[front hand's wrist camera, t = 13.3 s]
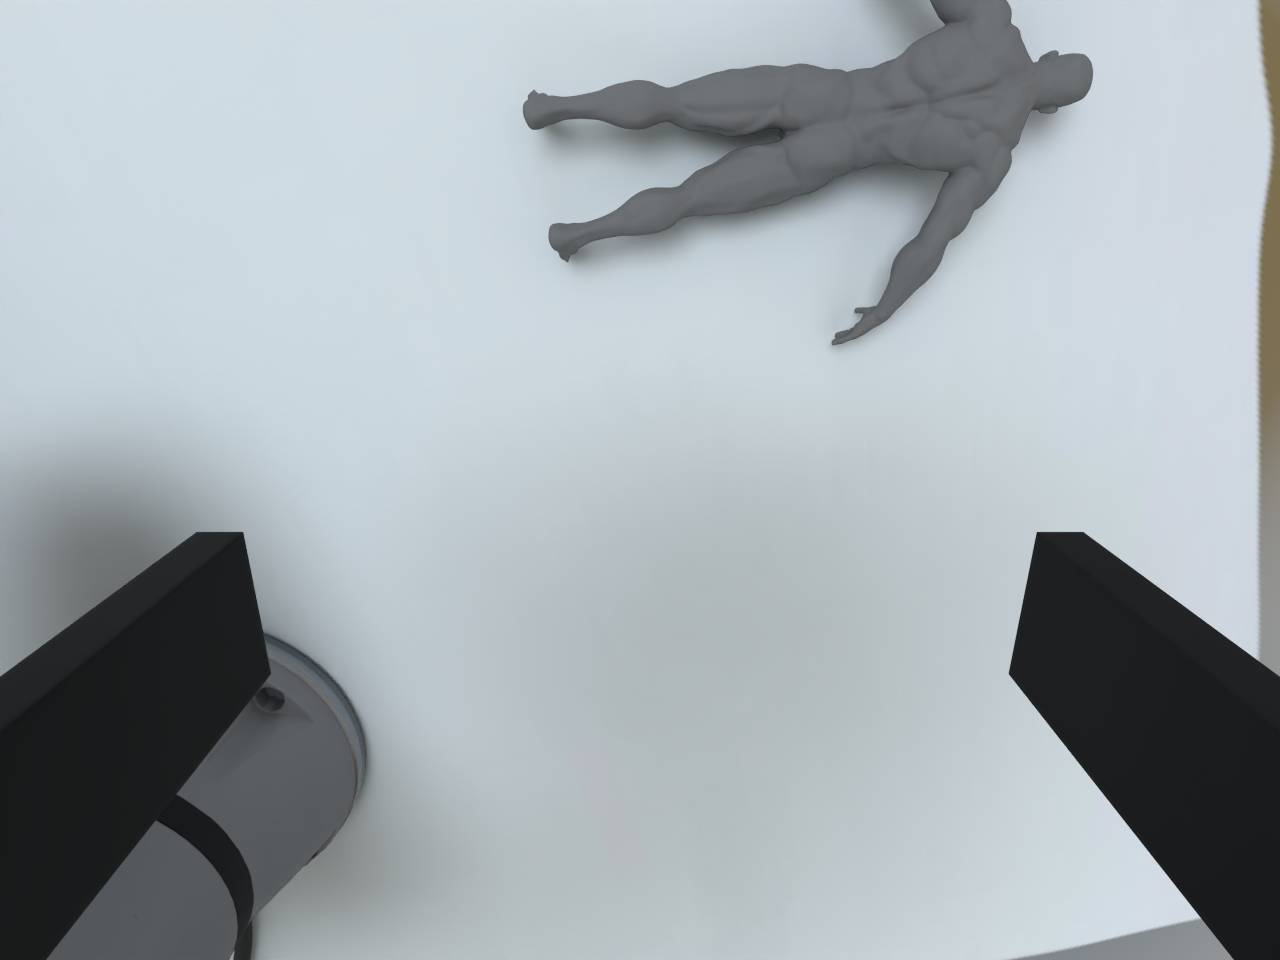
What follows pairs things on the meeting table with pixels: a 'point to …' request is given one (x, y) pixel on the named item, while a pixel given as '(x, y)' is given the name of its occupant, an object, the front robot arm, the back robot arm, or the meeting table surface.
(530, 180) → the meeting table surface
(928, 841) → the meeting table surface
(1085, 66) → the figurine
